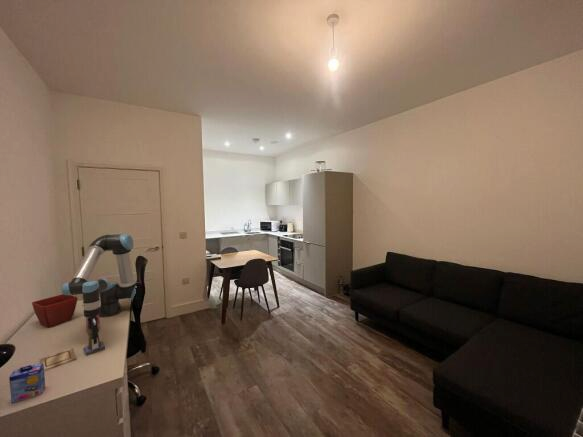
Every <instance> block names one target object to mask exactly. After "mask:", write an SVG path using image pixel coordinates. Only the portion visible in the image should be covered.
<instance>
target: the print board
mask: <svg viewBox="0 0 583 437" xmlns="http://www.w3.org/2000/svg"><path fill="white" fill-rule="evenodd" d="M75 361H77V355H76V352H75V349H74V347H73V348H69V349H66V350H63V351H60V352H57V353H54V354H51V355H48V356H45V357H41V358H40V359H39V364H41V363H43V364H44V372H46V371H50V370H52V369H55V368H58V367H60V366H63V365H66V364H68V363H69V364H70V363H72V362H75Z"/></svg>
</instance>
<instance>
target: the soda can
mask: <svg viewBox="0 0 583 437" xmlns="http://www.w3.org/2000/svg"><path fill="white" fill-rule="evenodd" d="M96 317H97V319H98V320H97V321H98V322H97V325H98V328H99V329H100V328H101V324H100V317H99V314H98V315H96ZM85 328H86V329H85V330H86V332H87V333H88V331H89V324H88V317H85Z"/></svg>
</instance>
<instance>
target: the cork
mask: <svg viewBox="0 0 583 437" xmlns="http://www.w3.org/2000/svg"><path fill="white" fill-rule="evenodd" d="M99 332H100V328H98V333H99ZM87 334H88V343H87V346H88V349H89V350H91V349H92V339H91V338H92V332H91V329H89V331H88V332H87ZM98 336H99V337H98V347H99V346H101V343H100V341H101V339H100V335H99V334H98Z"/></svg>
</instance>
